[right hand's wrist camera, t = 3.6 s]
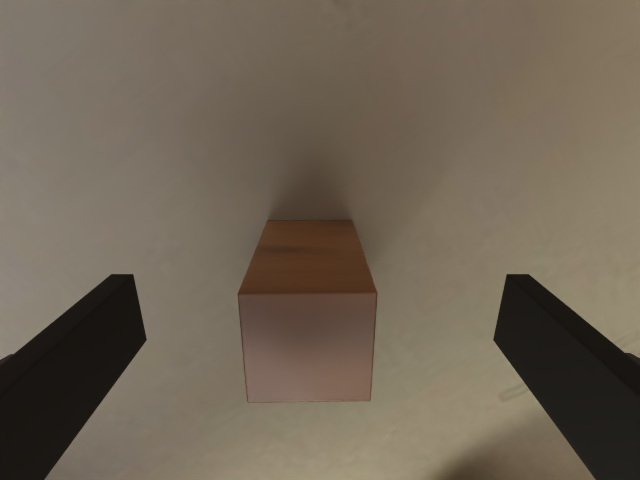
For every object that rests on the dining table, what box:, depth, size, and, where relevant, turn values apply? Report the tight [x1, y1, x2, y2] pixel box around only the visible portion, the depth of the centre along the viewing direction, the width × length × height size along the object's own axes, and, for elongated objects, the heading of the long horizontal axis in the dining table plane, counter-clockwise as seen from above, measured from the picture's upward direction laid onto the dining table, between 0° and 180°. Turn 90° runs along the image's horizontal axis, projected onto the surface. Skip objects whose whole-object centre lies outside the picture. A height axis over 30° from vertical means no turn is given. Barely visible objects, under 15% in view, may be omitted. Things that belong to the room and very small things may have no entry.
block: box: [238, 220, 377, 403], centre depth 14 cm, size 4×4×7 cm
